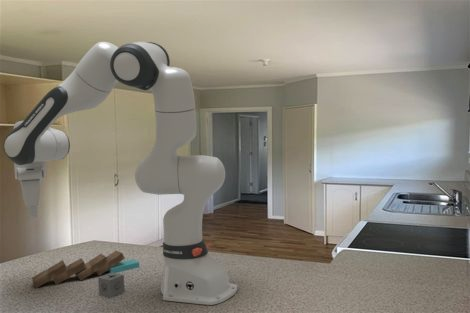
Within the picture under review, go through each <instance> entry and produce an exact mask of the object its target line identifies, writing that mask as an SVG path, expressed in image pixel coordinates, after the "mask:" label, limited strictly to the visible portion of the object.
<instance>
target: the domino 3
mask: <svg viewBox="0 0 470 313" xmlns="http://www.w3.org/2000/svg"><path fill="white" fill-rule="evenodd" d="M106 257H107V256H106V255H105V254H102V253H99V254H98V255H96V256H94V258H92V259H90V260H89V261H87V262H85V265H86V267H87V268H85V269H83V270H82V271H80V272H78V273H76V274H75V277H76V278H77V279H78V280H80V281H81V282H82V281H84V280H85V279H86V278H88V277H90V276H91V275H93V274H94V272H95V271H97V270H98V269H100V268H101V267H103V266H104V265H106V264H107V263H109V261H108V259H107V258H106Z"/></svg>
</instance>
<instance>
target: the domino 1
mask: <svg viewBox="0 0 470 313" xmlns="http://www.w3.org/2000/svg"><path fill="white" fill-rule="evenodd" d="M66 266H67V265H66V263H65V261H64V260H63V259H62V260H61V261H59V262H57V263H55V264H53V265H52V266H50V267H48V268H47V269H45V270H43V271H41V272H39V273H37V274H35V275H34V276H33V277H32V278H31V279H32V283H33V286H34V287H35V289H38V288H39V287H41V286H42V285H45V284H46V283H48V282H50V281H52V280H53V278H55V277H57V276H58V275H60V274H62V273H64V272H65V271H67V270H68V269H67V267H66Z"/></svg>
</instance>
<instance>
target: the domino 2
mask: <svg viewBox="0 0 470 313" xmlns="http://www.w3.org/2000/svg"><path fill="white" fill-rule="evenodd" d="M85 264H86V262H85V261H84V259H83V258H81V257H80V258H79V259H77V260H75V261H73V262H72V263H69V264H68V265H66V267H67V269H68V270H67V271H65V272H64V273H62V274H60V275H58V276H57V277H55V278H53V279H52V280H53V282H54V285H55V286H57V285H59V284H61V283H62V282H64V281H65V280H68V279H69V278H71V277H73V276H74V275H75V274H76V273H78V272H80V271H82V270H83V269H85V268H87V267H86V265H85ZM75 276H76V275H75Z"/></svg>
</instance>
